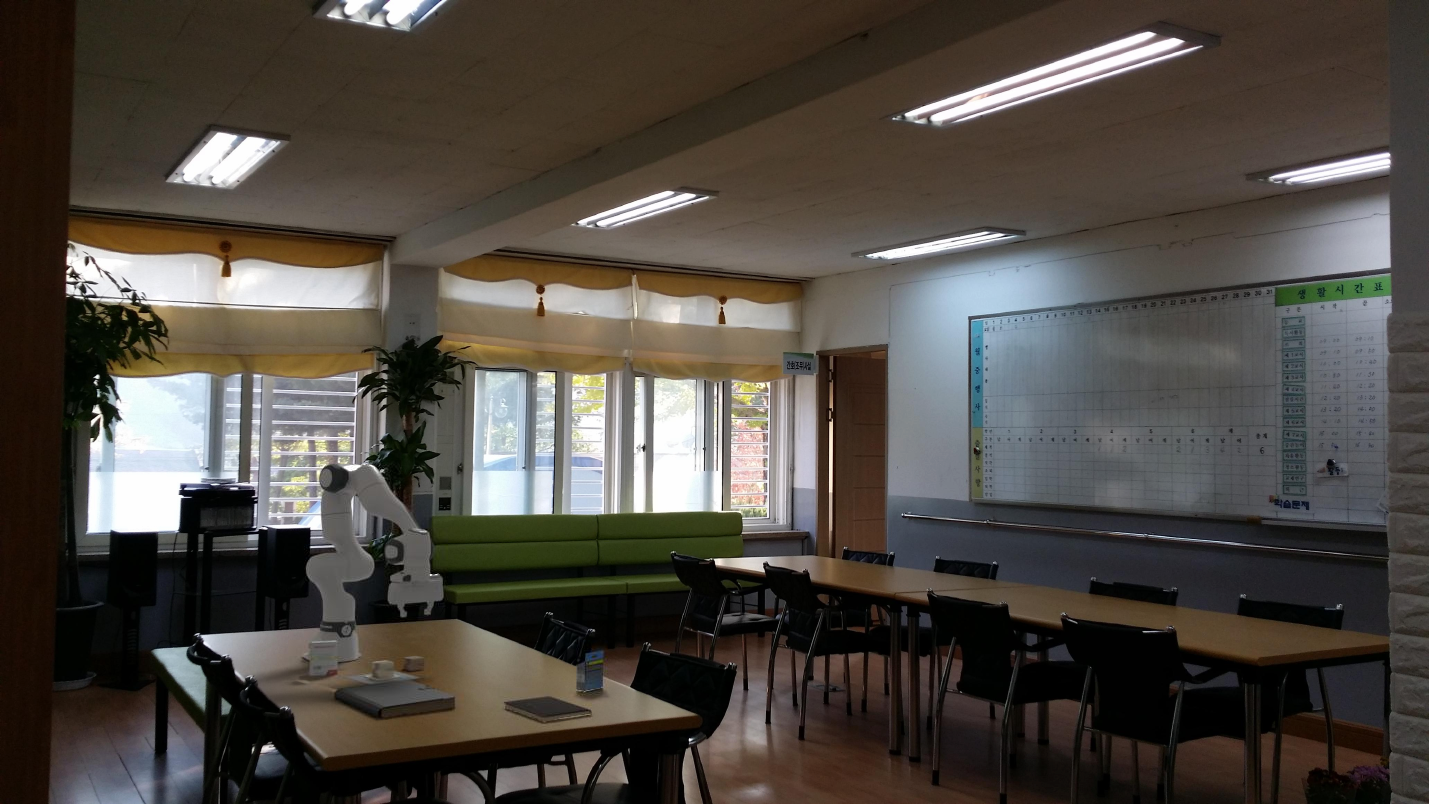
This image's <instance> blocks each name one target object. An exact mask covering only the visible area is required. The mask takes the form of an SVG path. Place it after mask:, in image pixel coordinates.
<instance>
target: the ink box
mask: <svg viewBox="0 0 1429 804" xmlns="http://www.w3.org/2000/svg"><path fill="white" fill-rule="evenodd" d="M338 663H339V662H338V642H337V641H336V640H335V641H312V642H311V646H310V660H309V671H308V674H309V676H311V677H315V676H316V677H317V676H333V675H338V666H339V664H338Z"/></svg>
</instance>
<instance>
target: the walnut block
mask: <svg viewBox="0 0 1429 804" xmlns="http://www.w3.org/2000/svg"><path fill="white" fill-rule="evenodd" d="M402 668H403V670H405V671H410V672H411V671H412V672H413V671H419V670H422V671H423V670H425V657H422V656H418V655H413V656H407V657H406V656H405V657H403V667H402Z"/></svg>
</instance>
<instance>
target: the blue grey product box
mask: <svg viewBox="0 0 1429 804" xmlns="http://www.w3.org/2000/svg"><path fill="white" fill-rule="evenodd" d="M604 654H605V653H604V650H598V651H594V652H588V653H585V660H584V661H583V662H581V663H579V664H577V665H576V682H575V683H576V687H575V688H576V689H577V690H583V691H586V690H591V689H596V688H601V687H603V688H604ZM594 656H595V657H594ZM576 689H575V690H576Z"/></svg>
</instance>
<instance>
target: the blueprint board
mask: <svg viewBox="0 0 1429 804" xmlns="http://www.w3.org/2000/svg"><path fill="white" fill-rule="evenodd" d="M344 678H346V679H349V680H353V681H355V682H361V683H364V684H366V685H368V684H375V683H383V682H390V681H402V680H411V681H412V680H417V679H421V677H419V676H416V675H411V674H408V673H405V672H404V673H403V672H401V671H400V672H399V671H396V670H394V676H393V677H390V678H382V679H377V678H373V677H372V672H371V673H365V674H358V675H351V676H350V675H349V676H344Z"/></svg>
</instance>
